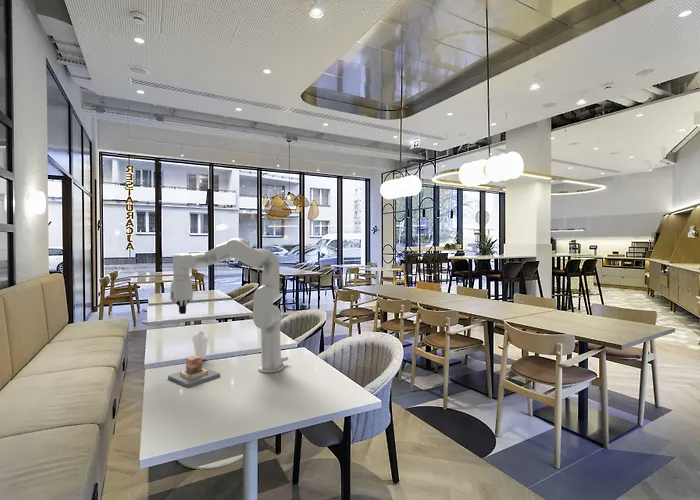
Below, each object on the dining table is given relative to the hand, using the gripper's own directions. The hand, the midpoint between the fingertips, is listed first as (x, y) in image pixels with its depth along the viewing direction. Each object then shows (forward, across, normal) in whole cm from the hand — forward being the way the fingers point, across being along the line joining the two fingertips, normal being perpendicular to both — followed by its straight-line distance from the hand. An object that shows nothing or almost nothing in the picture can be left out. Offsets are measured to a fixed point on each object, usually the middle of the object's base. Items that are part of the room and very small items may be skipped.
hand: (182, 313), depth 195 cm
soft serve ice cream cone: (+27, -11, -3) cm, 30 cm away
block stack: (+26, +6, +20) cm, 33 cm away
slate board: (+27, +6, +20) cm, 34 cm away
